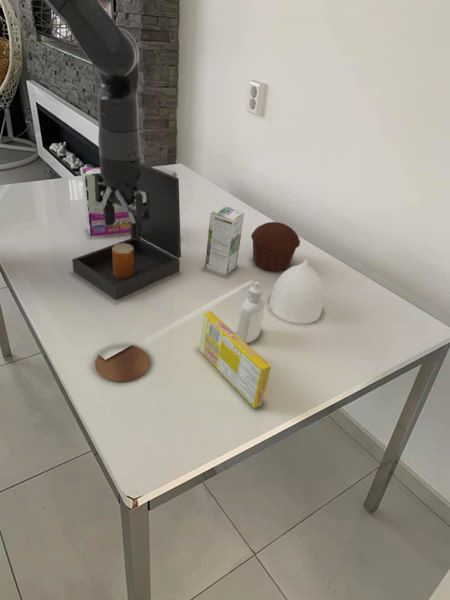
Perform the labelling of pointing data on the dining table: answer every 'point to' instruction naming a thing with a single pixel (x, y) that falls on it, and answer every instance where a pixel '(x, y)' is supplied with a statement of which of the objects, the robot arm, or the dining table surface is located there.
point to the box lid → (161, 208)
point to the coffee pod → (123, 260)
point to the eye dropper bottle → (251, 315)
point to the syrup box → (224, 239)
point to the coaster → (123, 365)
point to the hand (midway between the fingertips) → (122, 231)
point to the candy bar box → (101, 209)
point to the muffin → (274, 246)
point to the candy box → (234, 359)
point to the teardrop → (298, 295)
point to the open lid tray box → (147, 268)
